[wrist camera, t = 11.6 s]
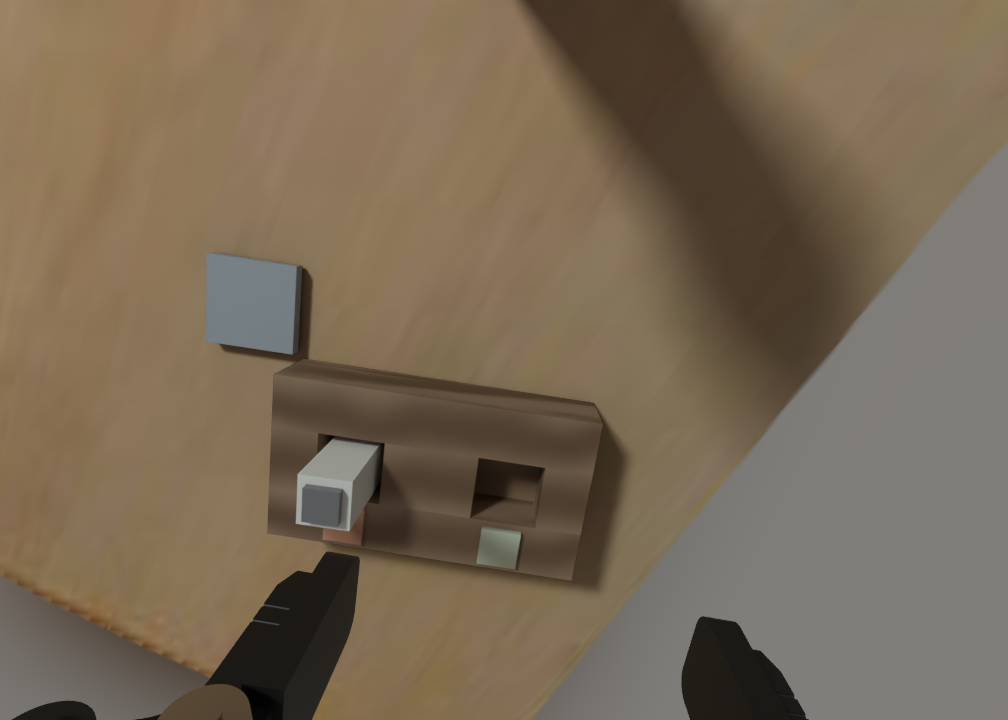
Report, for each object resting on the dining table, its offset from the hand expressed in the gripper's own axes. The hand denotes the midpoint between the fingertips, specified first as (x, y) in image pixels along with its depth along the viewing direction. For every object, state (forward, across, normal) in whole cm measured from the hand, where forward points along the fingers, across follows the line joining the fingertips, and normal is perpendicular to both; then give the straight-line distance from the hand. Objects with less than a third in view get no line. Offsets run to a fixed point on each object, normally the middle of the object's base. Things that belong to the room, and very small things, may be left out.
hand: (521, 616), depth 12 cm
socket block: (+29, +6, +10) cm, 31 cm away
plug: (+28, +12, +10) cm, 32 cm away
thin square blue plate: (+29, +22, 0) cm, 36 cm away
